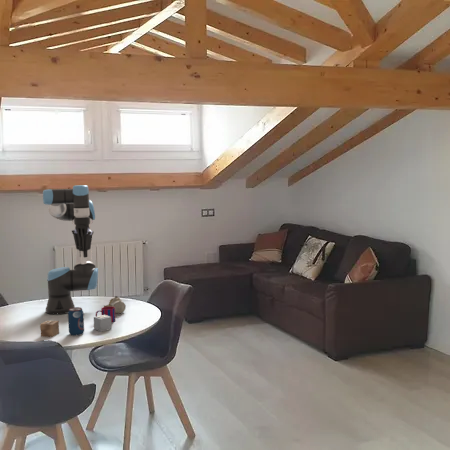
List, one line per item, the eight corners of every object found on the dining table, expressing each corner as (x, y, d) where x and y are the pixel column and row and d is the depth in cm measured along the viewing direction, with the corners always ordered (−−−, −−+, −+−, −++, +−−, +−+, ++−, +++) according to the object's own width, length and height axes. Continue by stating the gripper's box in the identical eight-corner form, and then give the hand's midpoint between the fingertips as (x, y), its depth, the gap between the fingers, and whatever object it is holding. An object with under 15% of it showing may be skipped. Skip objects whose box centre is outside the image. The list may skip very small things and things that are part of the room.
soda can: (83, 335, 261) (81, 310, 260) (67, 336, 261) (66, 310, 260) (85, 331, 268) (84, 306, 267) (70, 332, 268) (69, 307, 266)
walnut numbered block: (40, 336, 262) (40, 323, 261) (47, 332, 268) (46, 319, 267) (52, 337, 260) (52, 323, 260) (59, 333, 266) (58, 320, 266)
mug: (117, 321, 284) (116, 308, 284) (97, 324, 279) (97, 311, 279) (112, 318, 290) (112, 305, 289) (93, 321, 285) (93, 308, 284)
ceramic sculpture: (110, 299, 295) (102, 295, 308) (111, 315, 296) (102, 311, 309) (129, 296, 300) (120, 293, 314) (130, 313, 301) (121, 308, 314)
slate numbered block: (94, 329, 272) (93, 316, 272) (105, 326, 276) (104, 314, 276) (100, 331, 268) (100, 318, 267) (111, 329, 272) (111, 316, 271)
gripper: (66, 216, 281) (69, 263, 283) (85, 217, 274) (87, 265, 276) (78, 215, 287) (80, 261, 290) (96, 216, 280) (99, 263, 283)
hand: (84, 263), depth 283 cm, fingers closed
